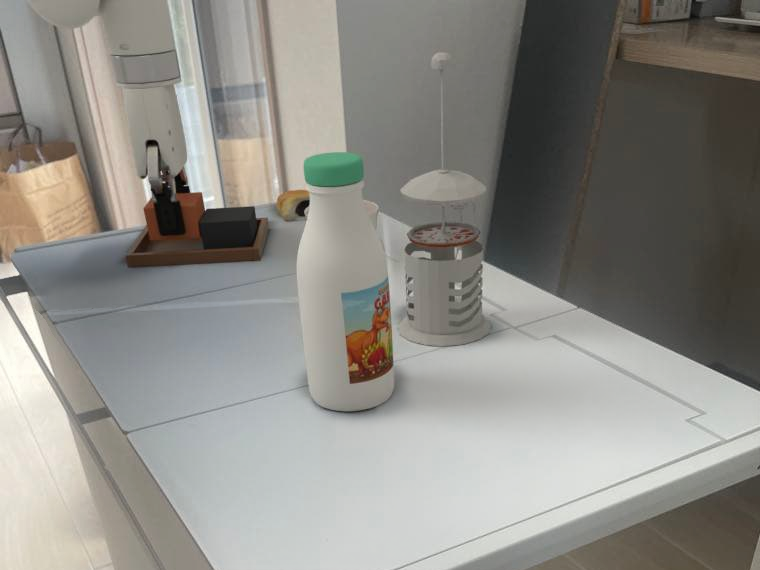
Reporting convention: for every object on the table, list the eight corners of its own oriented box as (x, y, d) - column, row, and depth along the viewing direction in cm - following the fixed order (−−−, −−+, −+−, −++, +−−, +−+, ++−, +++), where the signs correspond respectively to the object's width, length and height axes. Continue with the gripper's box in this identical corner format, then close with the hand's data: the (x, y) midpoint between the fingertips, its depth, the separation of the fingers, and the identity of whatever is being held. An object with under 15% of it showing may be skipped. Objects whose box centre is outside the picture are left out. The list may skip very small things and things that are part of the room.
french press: (381, 338, 86) (365, 59, 71) (427, 299, 94) (421, 41, 79) (471, 352, 82) (474, 61, 67) (510, 310, 91) (520, 43, 76)
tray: (129, 272, 105) (125, 255, 104) (150, 239, 116) (146, 223, 115) (260, 265, 106) (258, 248, 104) (269, 232, 117) (267, 217, 115)
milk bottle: (319, 420, 72) (291, 173, 60) (302, 382, 78) (274, 152, 66) (405, 405, 74) (394, 162, 62) (382, 370, 80) (368, 142, 68)
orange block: (150, 240, 107) (143, 208, 104) (159, 226, 112) (153, 194, 110) (200, 237, 107) (194, 205, 105) (207, 223, 112) (202, 191, 110)
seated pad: (204, 254, 108) (198, 222, 106) (211, 239, 113) (206, 208, 111) (254, 251, 108) (249, 219, 106) (258, 236, 113) (254, 205, 111)
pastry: (268, 210, 126) (265, 183, 123) (311, 204, 128) (309, 178, 125) (286, 226, 119) (283, 198, 116) (331, 220, 121) (329, 192, 118)
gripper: (130, 61, 105) (161, 209, 116) (96, 83, 91) (135, 249, 102) (190, 58, 105) (215, 206, 116) (165, 79, 91) (196, 245, 102)
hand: (177, 225), depth 109 cm, fingers closed on orange block, 6 cm apart
